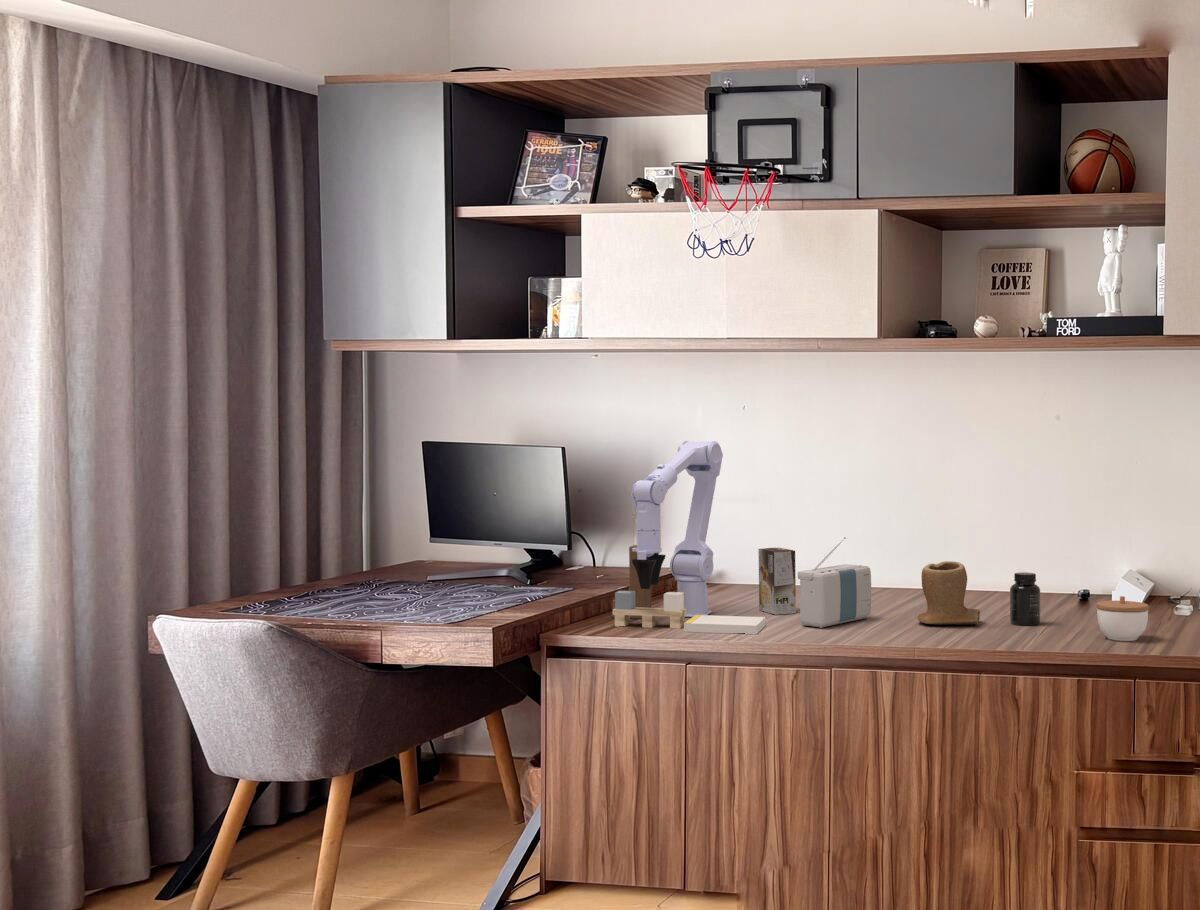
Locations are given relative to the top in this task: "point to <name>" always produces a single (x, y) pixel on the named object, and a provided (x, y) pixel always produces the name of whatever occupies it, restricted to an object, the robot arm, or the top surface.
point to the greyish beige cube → (674, 601)
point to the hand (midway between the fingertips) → (649, 586)
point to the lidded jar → (1122, 619)
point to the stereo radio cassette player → (834, 594)
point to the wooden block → (637, 586)
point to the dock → (724, 624)
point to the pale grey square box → (625, 600)
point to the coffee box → (777, 581)
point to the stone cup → (946, 595)
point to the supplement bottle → (1025, 600)
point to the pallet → (649, 616)
